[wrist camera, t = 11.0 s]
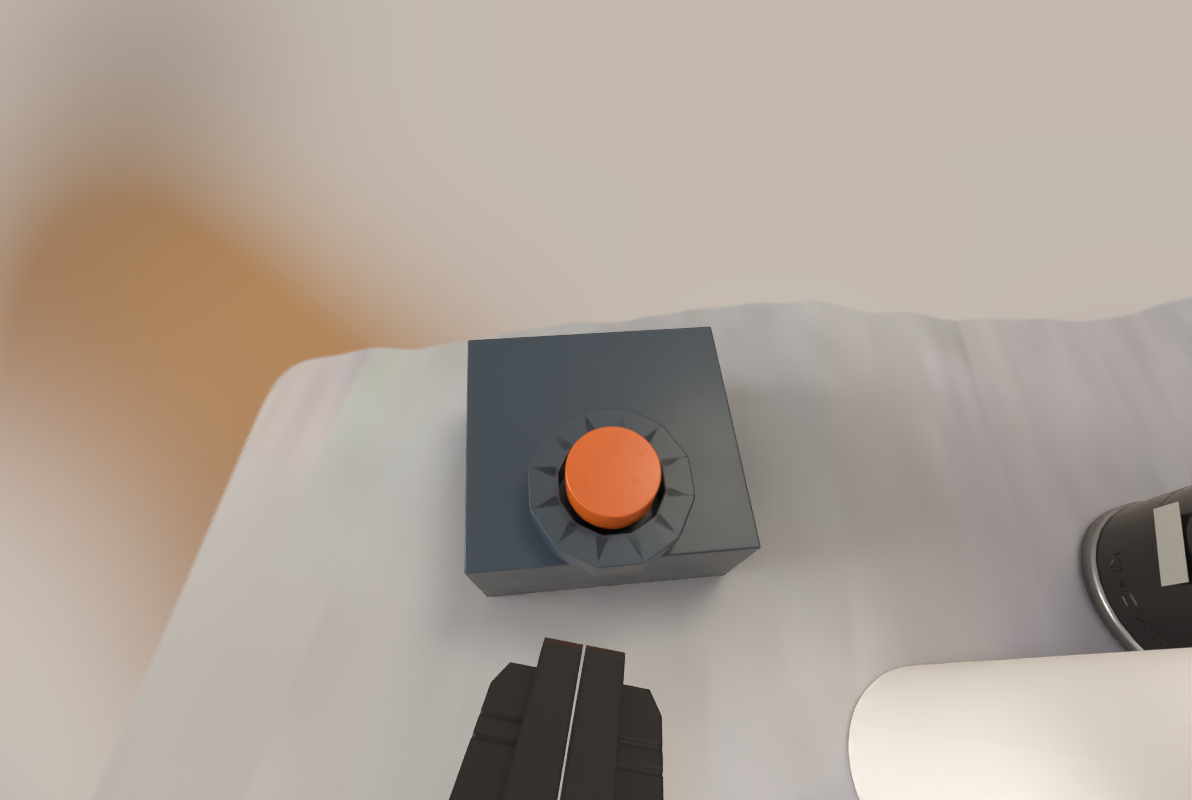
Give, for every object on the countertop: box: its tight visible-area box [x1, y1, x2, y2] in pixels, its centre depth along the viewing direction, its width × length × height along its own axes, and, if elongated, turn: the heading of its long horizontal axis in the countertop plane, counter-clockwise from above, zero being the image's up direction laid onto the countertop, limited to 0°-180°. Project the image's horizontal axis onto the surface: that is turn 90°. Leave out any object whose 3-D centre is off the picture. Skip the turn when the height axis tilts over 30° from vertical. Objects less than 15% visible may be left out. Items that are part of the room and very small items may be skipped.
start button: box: [565, 426, 662, 529], centre depth 21 cm, size 4×4×2 cm
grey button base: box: [464, 327, 760, 597], centre depth 27 cm, size 12×12×8 cm
